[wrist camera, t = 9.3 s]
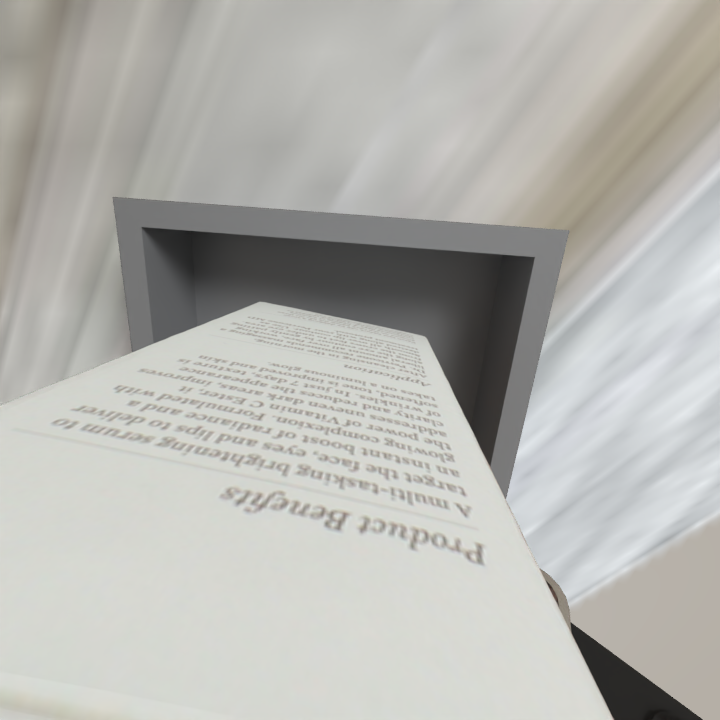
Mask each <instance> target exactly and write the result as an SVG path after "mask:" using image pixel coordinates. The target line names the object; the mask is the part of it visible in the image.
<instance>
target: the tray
mask: <svg viewBox="0 0 720 720" xmlns="http://www.w3.org/2000/svg"><path fill="white" fill-rule="evenodd" d="M113 203H114V211H115V219H116V227H117V235H118V243H119V251H120V259H121V267H122V274H123V282H124V290H125V298H126V306H127V314H128V322H129V330H130V338H131V346H132V352H135V351H137V350H140V349H142V348H144V347H147V346H149V345H151V344H154V343H156V342H159V341H162V340H164V339H167V338H169V337H171V336H174V335H176V334H179V333H182V332H185V331H187V330H190V329H192V328H195V327H197V326H200V325H202V324H205V323H207V322H210V321H212V320H215V319H218V318H220V317H223V316H225V315H228V314H230V313H233V312H235V311H238V310H240V309H243V308H245V307H248V306H250V305H253V304H255V303H257V302H266V303H271V304H276V305H281V306H286V307H292V308H296V309H301V310H306V311H310V312H315V313H320V314H324V315H329V316H334V317H339V318H344V319H348V320H353V321H358V322H363V323H368V324H372V325H377V326H382V327H386V328H391V329H395V330H400V331H404V332H408V333H413V334H417V335H421V336H425V337H426V338H427V340H428V342H429V344H430V346H431V348H432V350H433V352H434V354H435V356H436V358H437V360H438V362H439V364H440V366H441V368H442V371H443V373H444V375H445V377H446V379H447V380H448V382H449V384H450V387H451V389H452V391H453V393H454V395H455V397H456V399H457V401H458V403H459V405H460V407H461V409H462V412H463V414H464V416H465V418H466V420H467V422H468V423H469V425H470V427H471V429H472V431H473V433H474V435H475V438H476V440H477V442H478V444H479V446H480V448H481V450H482V452H483V454H484V456H485V458H486V460H487V462H488V464H489V466H490V468H491V470H492V472H493V475H494V477H495V479H496V481H497V483H498V485H499V487H500V489H501V491H502V493H503V495H504V497H505V499H506V496H507V492H508V488H509V484H510V480H511V475H512V471H513V467H514V463H515V458H516V454H517V450H518V446H519V441H520V437H521V433H522V429H523V425H524V420H525V416H526V412H527V408H528V403H529V399H530V395H531V391H532V386H533V382H534V378H535V374H536V369H537V365H538V361H539V357H540V353H541V348H542V344H543V340H544V336H545V331H546V327H547V323H548V319H549V314H550V310H551V306H552V302H553V298H554V293H555V289H556V285H557V281H558V276H559V272H560V268H561V264H562V259H563V255H564V251H565V247H566V242H567V238H568V234H569V230H556V229H543V228H529V227H515V226H502V225H488V224H474V223H461V222H447V221H433V220H420V219H406V218H392V217H379V216H365V215H351V214H338V213H324V212H310V211H297V210H283V209H269V208H256V207H242V206H228V205H215V204H201V203H187V202H174V201H160V200H146V199H133V198H119V197H113Z"/></svg>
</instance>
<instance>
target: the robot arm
mask: <svg viewBox="0 0 720 720" xmlns="http://www.w3.org/2000/svg"><path fill="white" fill-rule="evenodd" d="M539 569H540V568H539ZM540 571H541V573H542V575H543V577H544V579H545V581H546V583H547V585H548V587H549V589H550V591H551V593H552V595H553V597H554V599H555V601H556V603H557V605H558V607H559V609H560V611H561V613H562V615H563V617H564V619H565V621H566V623H567V625H568V627H569V629H570V631H571V633H572V635H573V637H574V639H575V642H576V644H577V646H578V648H579V650H580V652H581V654H582V656H583V658H584V660H585V662H586V664H587V666H588V668H589V670H590V672H591V674H592V676H593V678H594V680H595V682H596V684H597V686H598V688H599V690H600V693H601V695H602V697H603V699H604V701H605V703H606V705H607V707H608V709H609V711H610V713H611V715H612V717H613V719H614V720H702V719H701V718H700V717H698V716H697V715H696V714H694V713H693V712H692V711H690V710H689V709H688V708H686V707H685V706H684V705H682V704H681V703H680V702H678V701H677V700H675V699H674V698H673V697H671V696H670V695H669V694H667V693H666V692H665V691H663V690H662V689H661V688H659V687H658V686H656V685H655V684H653V683H652V682H651V681H649V680H648V679H647V678H645V677H644V676H643V675H641V674H640V673H639V672H637V671H636V670H634V669H633V668H632V667H630V666H629V665H628V664H626V663H625V662H624V661H622V660H621V659H620V658H618V657H617V656H616V655H614V654H613V653H612V652H610V651H609V650H607V649H606V648H605V647H603V646H602V645H601V644H599V643H598V642H597V641H595V640H594V639H593V638H591V637H590V636H588V635H587V634H586V633H584V632H583V631H582V630H580V629H579V628H578V627H576V626H575V625H573V624H572V623H571V622H570V611H569V606H568V602H567V599H566V596H565V595H564V593H563V591H562V590H561V588H560V586H559V585H558V584H557V583H556V582H555V581H554V580H553V579H552V578H551V577H550V576H549V575H548V574H547V573H545V572H544V571H543V570H541V569H540Z"/></svg>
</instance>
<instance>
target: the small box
mask: <svg viewBox="0 0 720 720" xmlns="http://www.w3.org/2000/svg"><path fill="white" fill-rule="evenodd" d="M0 720H614V719H613V717H612V715H611V713H610V711H609V709H608V707H607V705H606V703H605V701H604V699H603V697H602V695H601V693H600V690H599V688H598V686H597V684H596V682H595V680H594V678H593V676H592V674H591V672H590V670H589V668H588V666H587V664H586V662H585V660H584V658H583V656H582V654H581V652H580V650H579V648H578V646H577V644H576V642H575V639H574V637H573V635H572V633H571V631H570V629H569V627H568V625H567V623H566V621H565V619H564V617H563V615H562V613H561V611H560V609H559V607H558V605H557V603H556V601H555V599H554V597H553V595H552V593H551V591H550V589H549V587H548V585H547V583H546V581H545V579H544V577H543V575H542V573H541V571H540V569H539V567H538V565H537V563H536V561H535V559H534V557H533V555H532V553H531V551H530V549H529V547H528V545H527V543H526V541H525V539H524V536H523V534H522V532H521V530H520V528H519V526H518V523H517V521H516V519H515V517H514V515H513V513H512V511H511V509H510V507H509V505H508V503H507V501H506V499H505V497H504V495H503V493H502V491H501V489H500V487H499V485H498V483H497V481H496V479H495V477H494V475H493V472H492V470H491V468H490V466H489V464H488V462H487V460H486V458H485V456H484V454H483V452H482V450H481V448H480V446H479V444H478V442H477V440H476V438H475V435H474V433H473V431H472V429H471V427H470V425H469V423H468V422H467V420H466V418H465V416H464V414H463V412H462V409H461V407H460V405H459V403H458V401H457V399H456V397H455V395H454V393H453V391H452V389H451V387H450V384H449V382H448V380H447V379H446V377H445V375H444V373H443V371H442V368H441V366H440V364H439V362H438V360H437V358H436V356H435V354H434V352H433V350H432V348H431V346H430V344H429V342H428V340H427V338H426V337H425V336H421V335H417V334H413V333H408V332H404V331H400V330H395V329H391V328H386V327H382V326H377V325H372V324H368V323H363V322H358V321H353V320H348V319H344V318H339V317H334V316H329V315H324V314H320V313H315V312H310V311H306V310H301V309H296V308H292V307H286V306H281V305H276V304H271V303H266V302H257V303H255V304H253V305H250V306H248V307H245V308H243V309H240V310H238V311H235V312H233V313H230V314H228V315H225V316H223V317H220V318H218V319H215V320H212V321H210V322H207V323H205V324H202V325H200V326H197V327H195V328H192V329H190V330H187V331H185V332H182V333H179V334H176V335H174V336H171V337H169V338H167V339H164V340H162V341H159V342H156V343H154V344H151V345H149V346H147V347H144V348H142V349H140V350H137V351H135V352H132V353H130V354H127V355H125V356H122V357H120V358H117V359H114V360H111V361H109V362H106V363H103V364H101V365H99V366H97V367H95V368H93V369H90V370H87V371H85V372H82V373H79V374H76V375H74V376H71V377H69V378H66V379H64V380H61V381H59V382H56V383H54V384H51V385H49V386H46V387H44V388H41V389H39V390H36V391H34V392H31V393H29V394H26V395H24V396H21V397H19V398H16V399H14V400H12V401H9V402H7V403H5V404H2V405H0Z"/></svg>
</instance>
